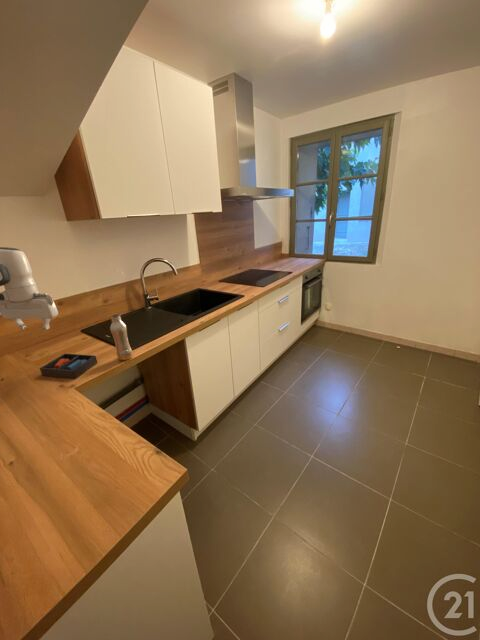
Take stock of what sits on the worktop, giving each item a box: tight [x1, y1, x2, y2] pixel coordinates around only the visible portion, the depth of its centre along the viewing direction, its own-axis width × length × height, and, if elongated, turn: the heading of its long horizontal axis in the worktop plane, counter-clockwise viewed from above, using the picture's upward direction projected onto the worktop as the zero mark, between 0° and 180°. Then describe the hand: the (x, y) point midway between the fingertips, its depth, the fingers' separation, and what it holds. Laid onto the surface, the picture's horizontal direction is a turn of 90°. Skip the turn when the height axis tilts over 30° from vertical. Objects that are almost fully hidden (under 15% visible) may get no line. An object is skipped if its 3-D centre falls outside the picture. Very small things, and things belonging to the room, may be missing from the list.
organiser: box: [39, 353, 98, 380], centre depth 108 cm, size 16×12×4 cm
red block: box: [55, 359, 70, 369], centre depth 109 cm, size 8×4×3 cm, turn 12°
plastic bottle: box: [109, 313, 133, 361], centre depth 112 cm, size 6×7×20 cm
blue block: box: [67, 359, 87, 370], centre depth 107 cm, size 8×4×3 cm, turn 167°
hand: (35, 328), depth 99 cm, fingers open, 8 cm apart
